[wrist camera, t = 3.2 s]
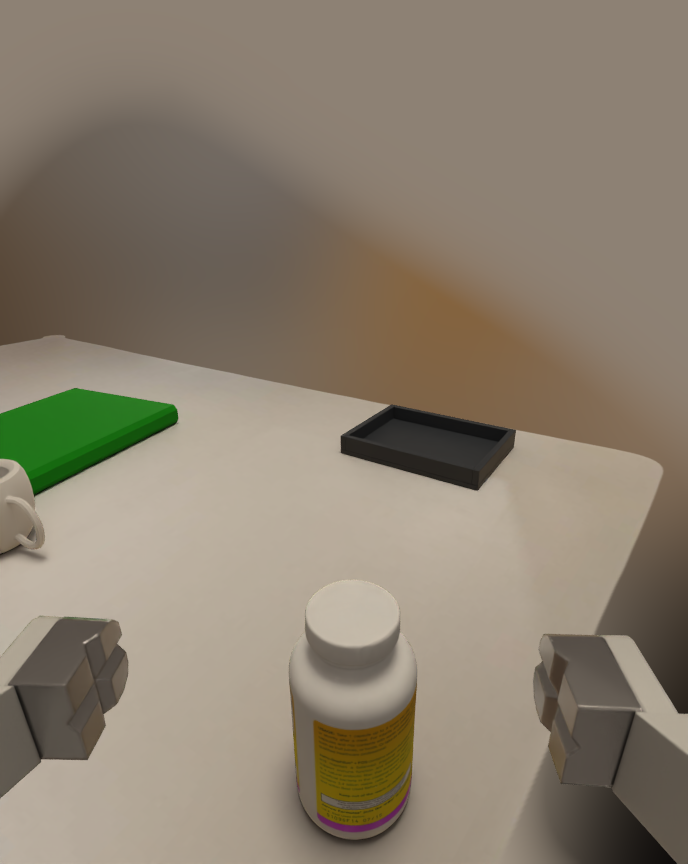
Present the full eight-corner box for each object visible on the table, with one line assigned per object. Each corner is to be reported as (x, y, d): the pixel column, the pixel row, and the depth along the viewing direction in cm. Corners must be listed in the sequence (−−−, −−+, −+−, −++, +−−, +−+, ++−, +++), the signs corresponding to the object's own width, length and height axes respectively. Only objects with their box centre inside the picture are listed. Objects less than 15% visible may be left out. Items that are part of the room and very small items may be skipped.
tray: (513, 446, 72) (516, 429, 71) (477, 490, 61) (479, 471, 60) (391, 419, 82) (391, 404, 81) (340, 452, 71) (340, 435, 70)
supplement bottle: (434, 795, 29) (451, 622, 24) (339, 875, 26) (335, 692, 21) (363, 710, 34) (365, 552, 29) (276, 768, 31) (260, 599, 26)
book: (-103, 472, 67) (-112, 452, 66) (78, 404, 91) (74, 388, 89) (11, 509, 58) (3, 485, 57) (179, 422, 82) (176, 405, 81)
